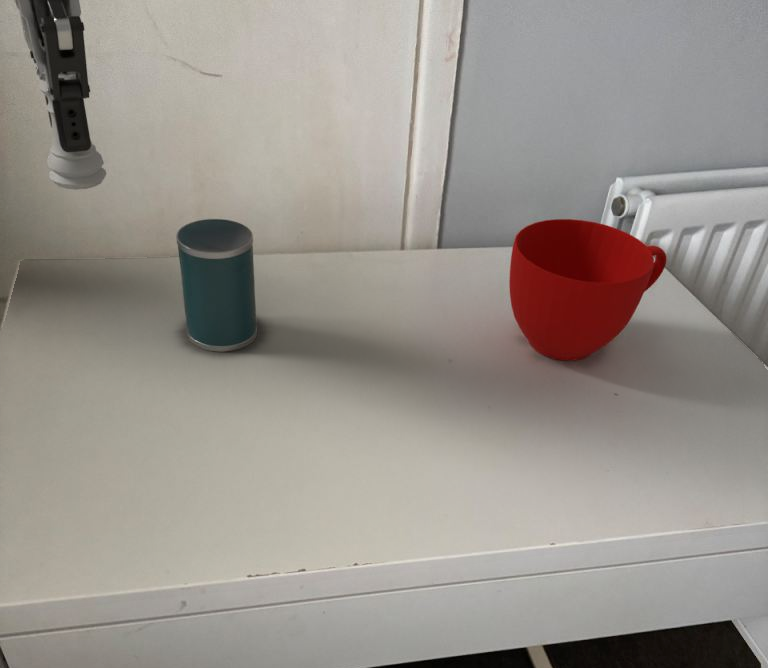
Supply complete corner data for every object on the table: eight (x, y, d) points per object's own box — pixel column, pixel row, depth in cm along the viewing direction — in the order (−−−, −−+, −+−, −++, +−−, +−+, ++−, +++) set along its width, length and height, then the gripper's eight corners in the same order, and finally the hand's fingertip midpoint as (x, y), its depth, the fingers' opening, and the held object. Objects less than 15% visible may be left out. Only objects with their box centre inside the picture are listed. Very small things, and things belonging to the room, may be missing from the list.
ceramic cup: (683, 357, 83) (717, 264, 76) (542, 391, 77) (565, 293, 70) (606, 295, 92) (630, 206, 85) (473, 321, 86) (488, 228, 79)
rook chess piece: (53, 168, 69) (32, 62, 63) (109, 169, 69) (93, 64, 64) (45, 191, 65) (22, 81, 60) (104, 191, 66) (87, 83, 61)
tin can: (174, 342, 79) (162, 243, 72) (206, 309, 84) (197, 213, 77) (239, 358, 78) (233, 258, 71) (268, 323, 83) (264, 227, 76)
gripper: (-54, -154, 56) (8, 113, 68) (-29, -119, 48) (36, 181, 59) (61, -150, 59) (101, 106, 71) (104, -116, 50) (141, 170, 62)
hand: (71, 139), depth 65 cm, fingers closed on rook chess piece, 3 cm apart
